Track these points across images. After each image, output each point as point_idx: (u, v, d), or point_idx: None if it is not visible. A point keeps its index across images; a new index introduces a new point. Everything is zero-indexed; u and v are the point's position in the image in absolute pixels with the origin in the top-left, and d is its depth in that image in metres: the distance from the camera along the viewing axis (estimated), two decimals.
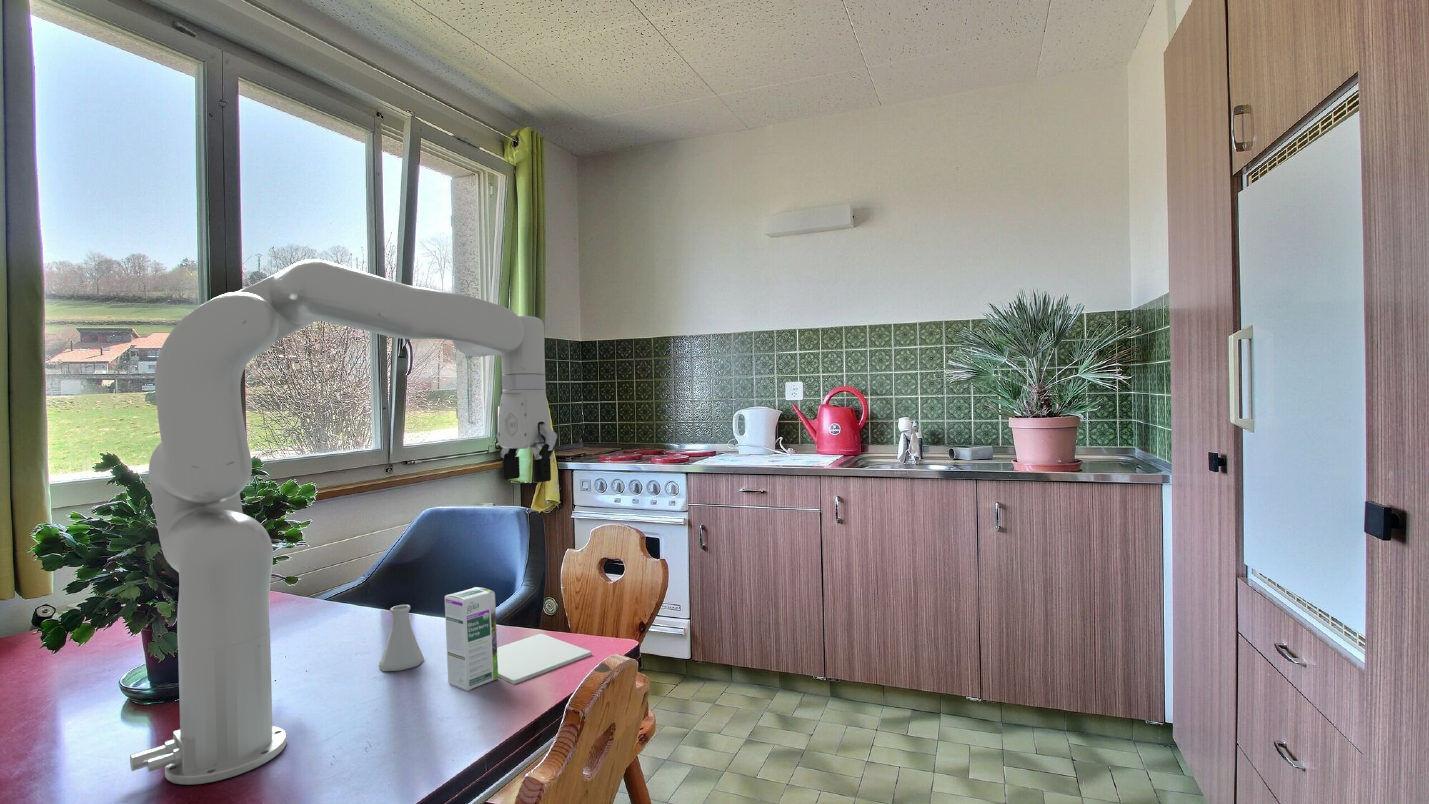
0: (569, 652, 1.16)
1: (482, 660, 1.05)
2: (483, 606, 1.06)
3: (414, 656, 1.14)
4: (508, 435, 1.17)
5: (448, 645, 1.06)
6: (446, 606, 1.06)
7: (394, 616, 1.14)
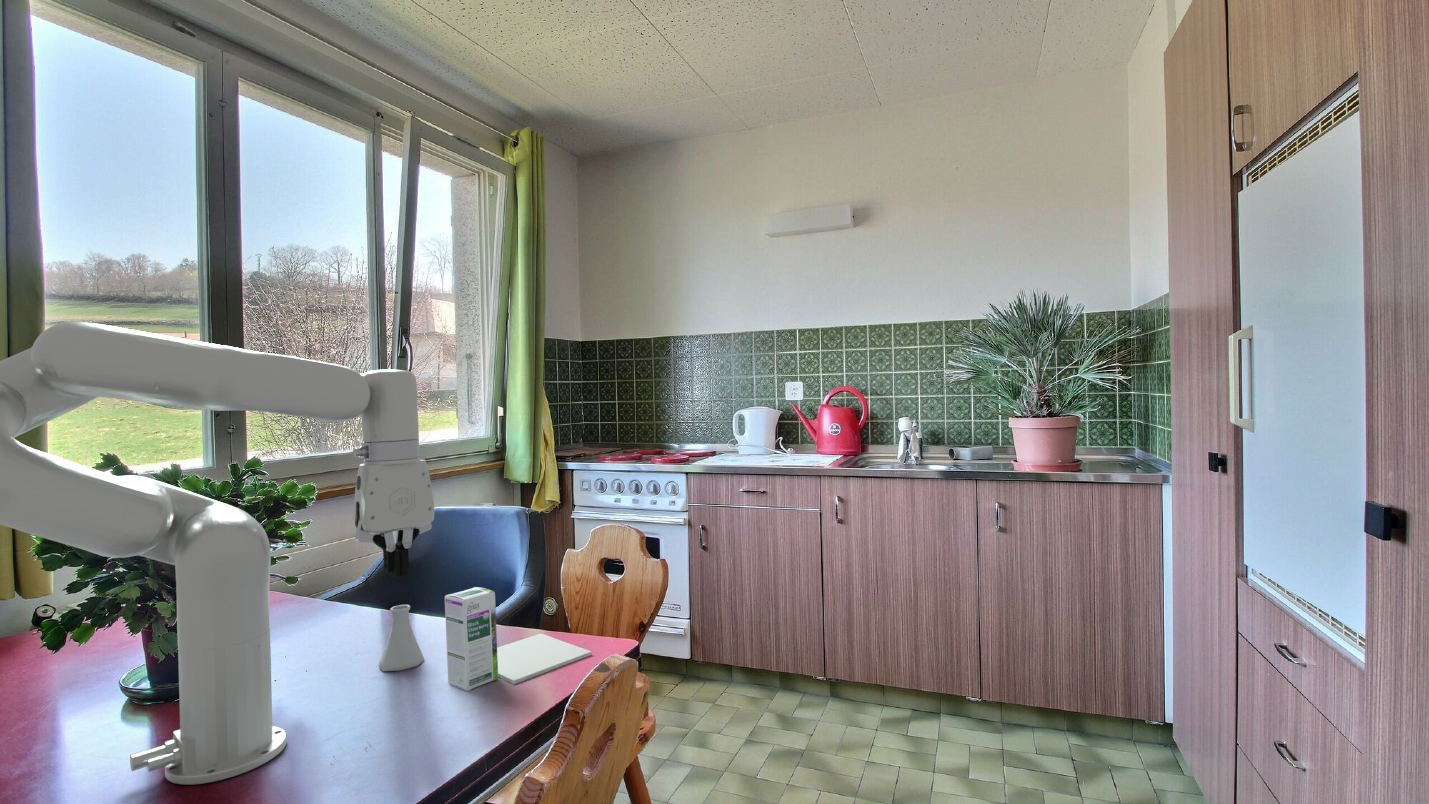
0: (569, 652, 1.16)
1: (482, 660, 1.05)
2: (483, 606, 1.06)
3: (414, 656, 1.14)
4: (395, 515, 0.96)
5: (448, 645, 1.06)
6: (446, 606, 1.06)
7: (394, 616, 1.14)
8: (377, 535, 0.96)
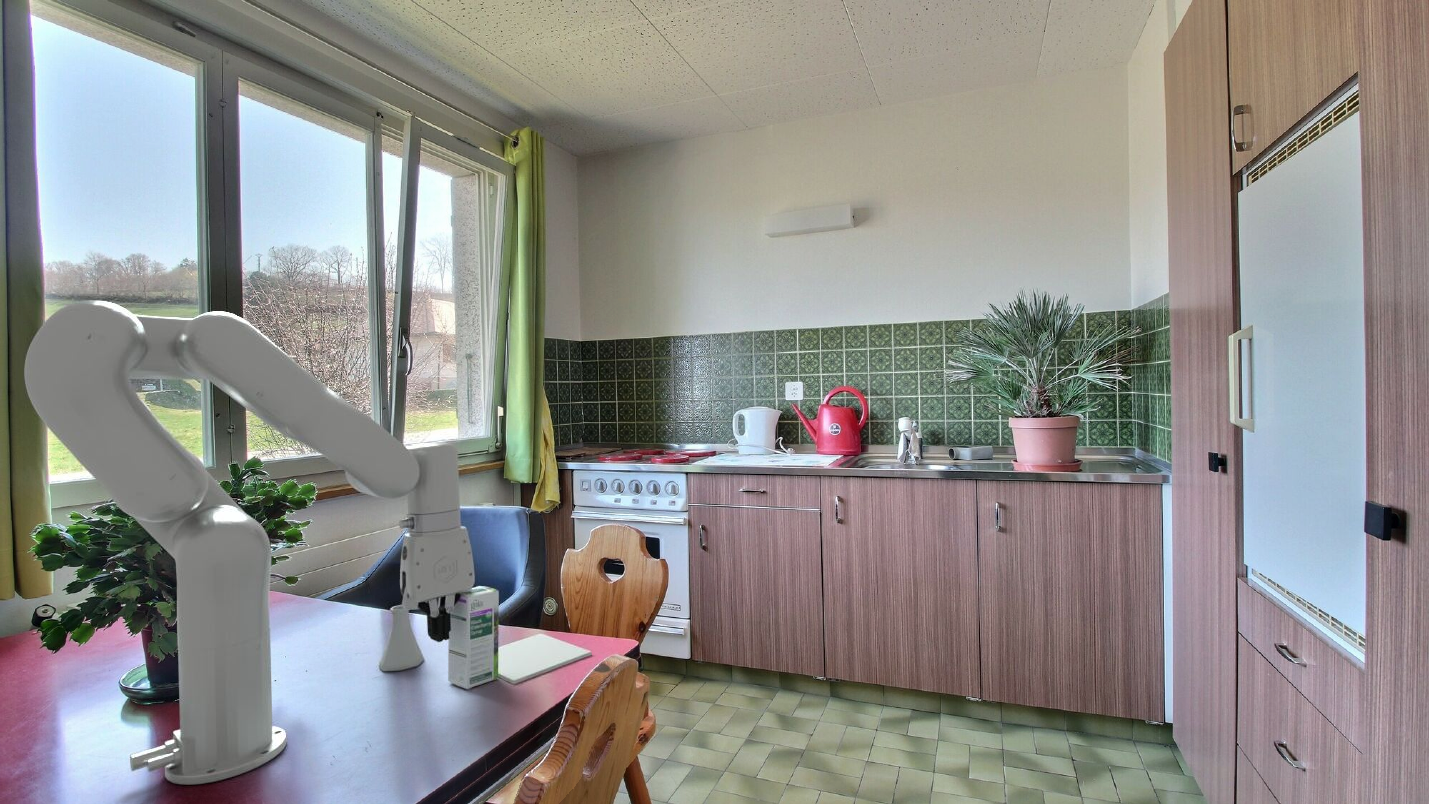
0: (569, 652, 1.16)
1: (483, 659, 1.05)
2: (486, 604, 1.06)
3: (414, 656, 1.14)
4: (439, 583, 1.00)
5: (450, 643, 1.06)
6: None
7: (394, 616, 1.14)
8: (422, 602, 1.00)
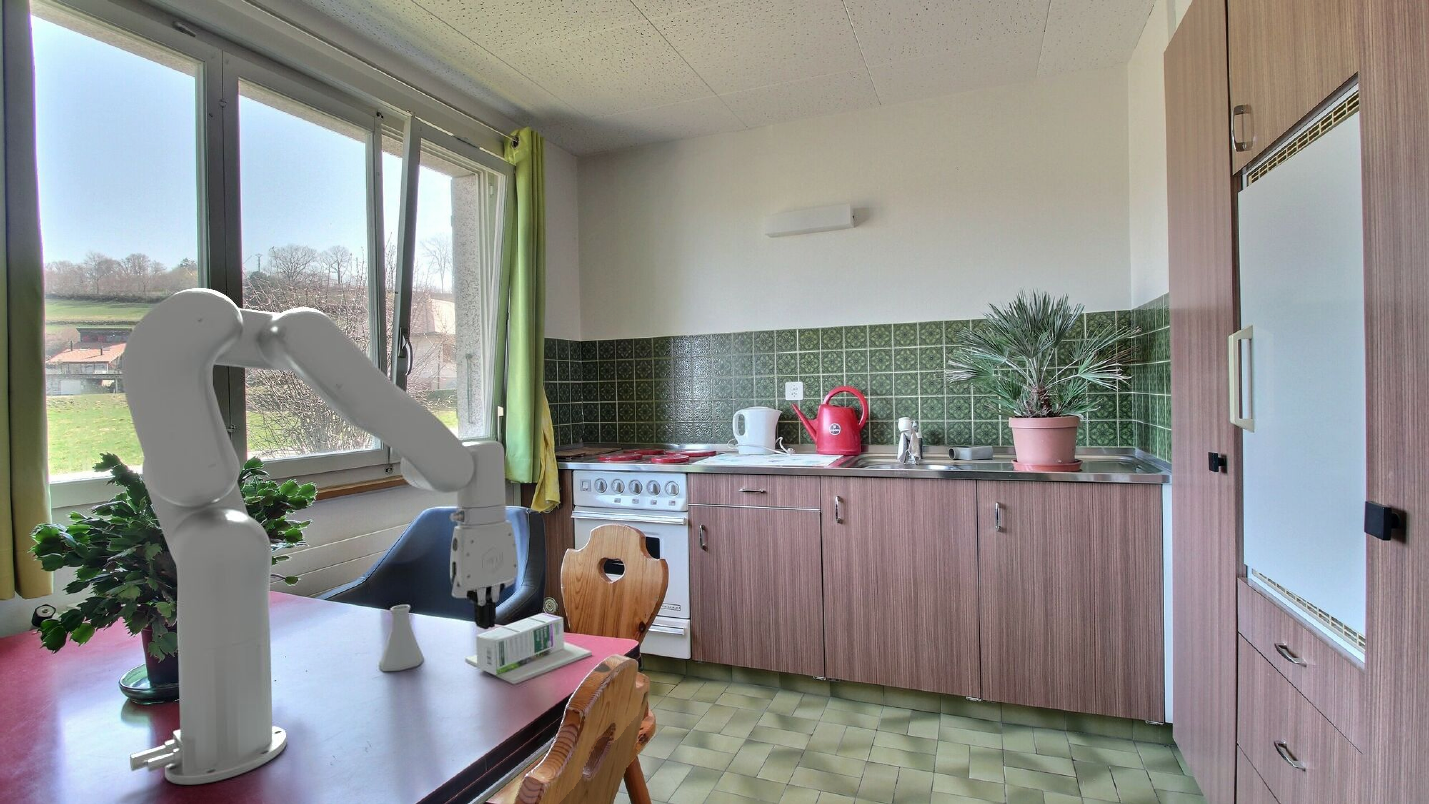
0: (569, 652, 1.16)
1: (516, 650, 1.10)
2: (556, 639, 1.17)
3: (414, 656, 1.14)
4: (487, 573, 1.06)
5: (509, 625, 1.15)
6: (538, 615, 1.20)
7: (394, 616, 1.14)
8: (470, 591, 1.06)
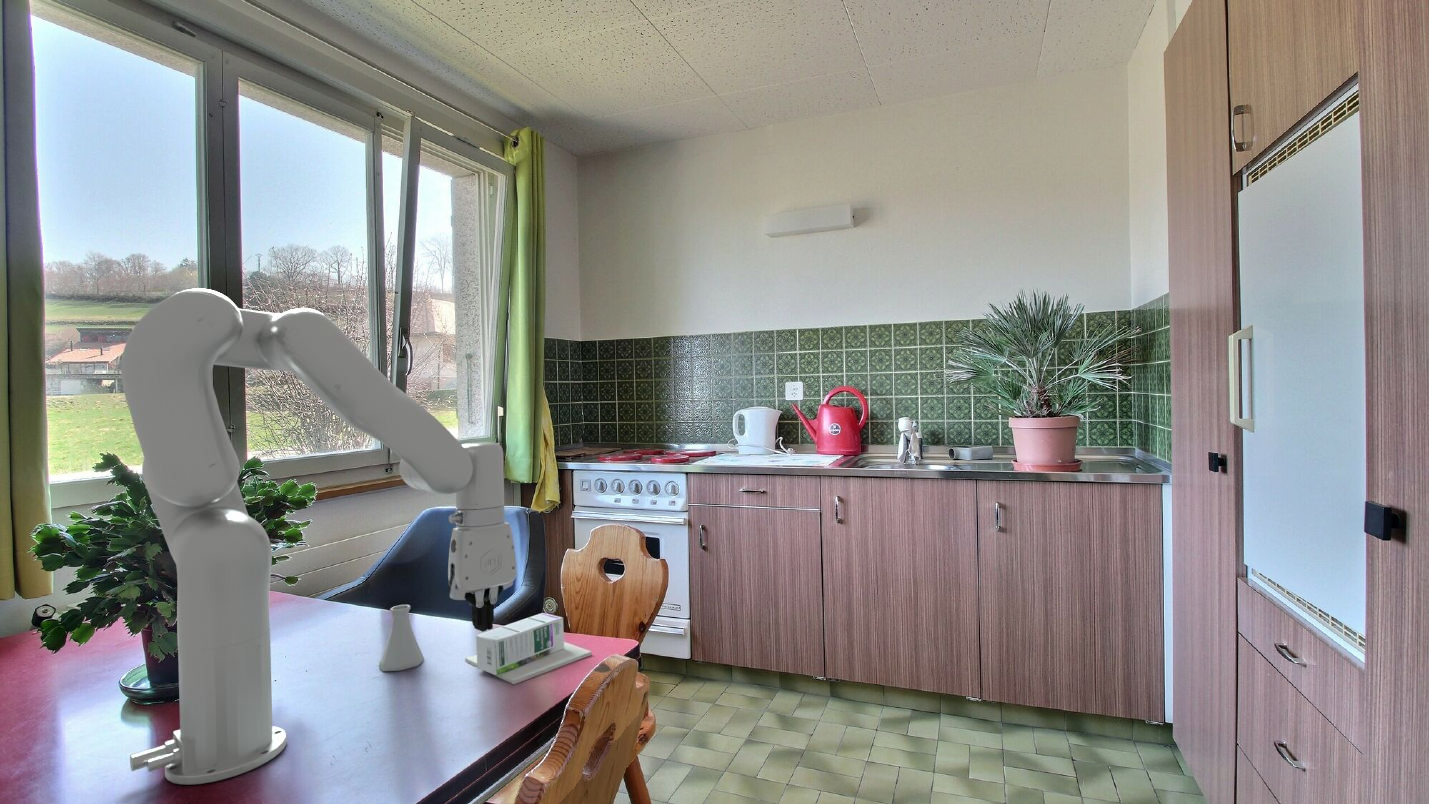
0: (569, 652, 1.16)
1: (516, 650, 1.10)
2: (556, 639, 1.17)
3: (414, 656, 1.14)
4: (485, 575, 1.06)
5: (509, 625, 1.15)
6: (538, 615, 1.20)
7: (394, 616, 1.14)
8: (468, 593, 1.06)
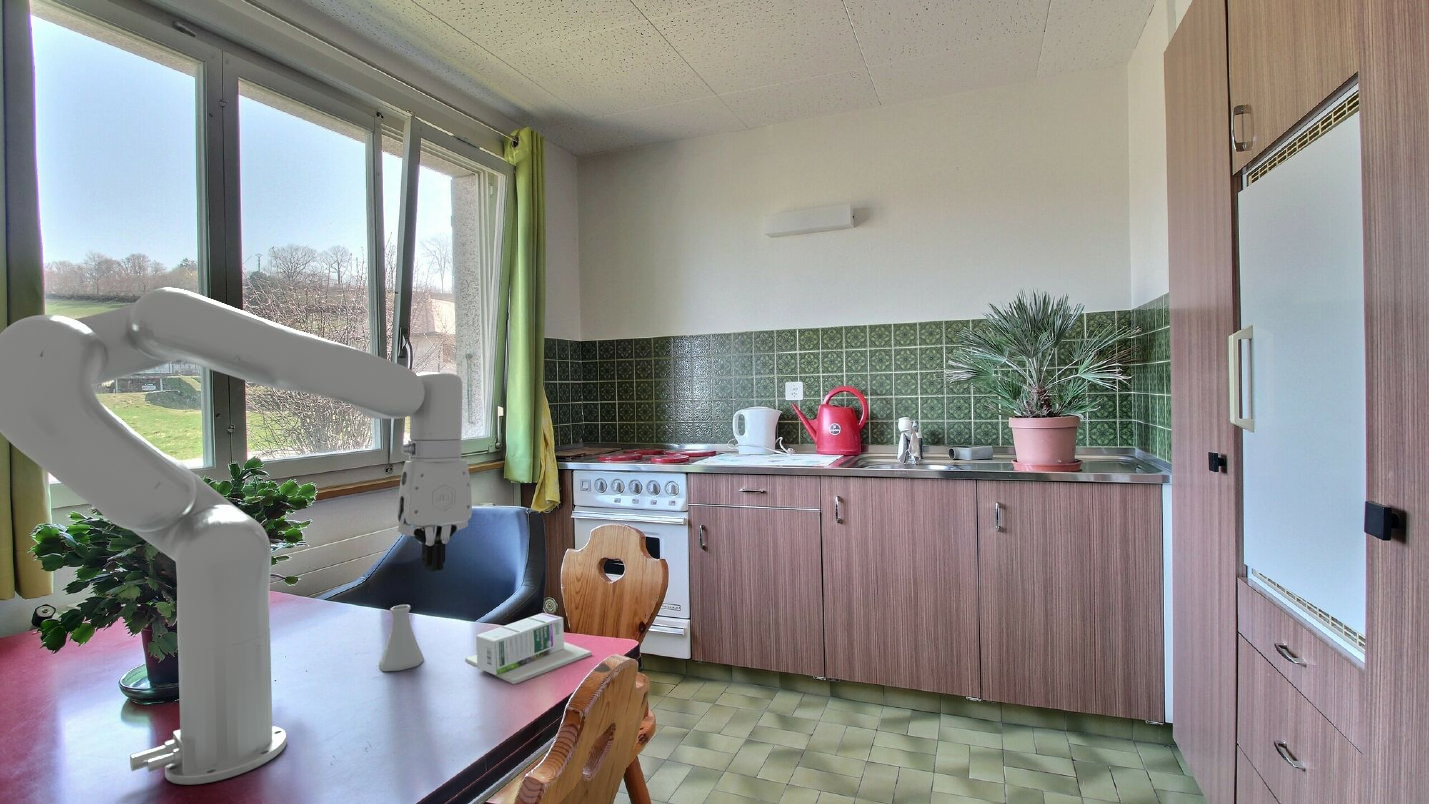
0: (569, 652, 1.16)
1: (516, 650, 1.10)
2: (556, 639, 1.17)
3: (414, 656, 1.14)
4: (437, 510, 1.00)
5: (509, 625, 1.15)
6: (538, 615, 1.20)
7: (394, 616, 1.14)
8: (418, 529, 1.00)
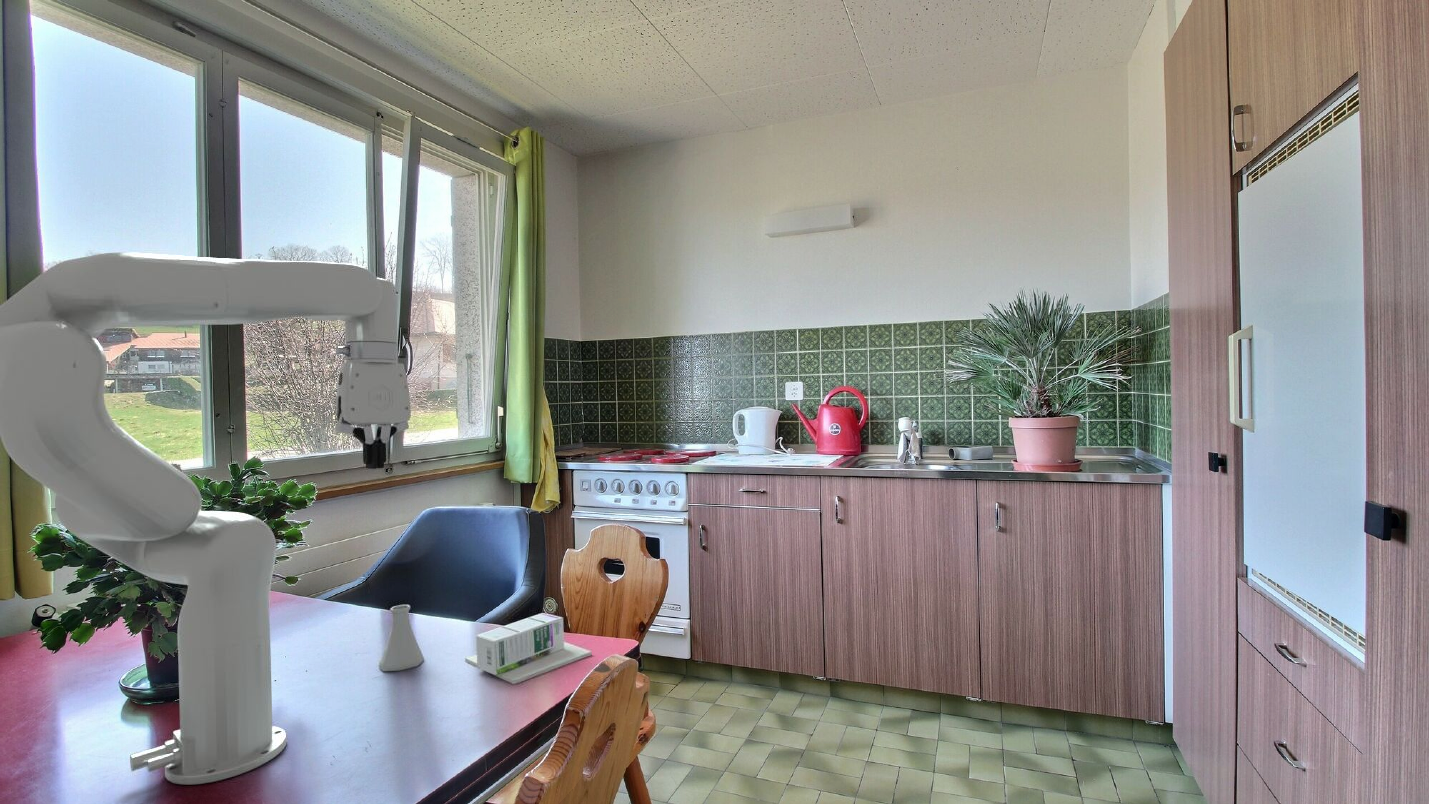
0: (569, 652, 1.16)
1: (516, 650, 1.10)
2: (556, 639, 1.17)
3: (414, 656, 1.14)
4: (374, 409, 1.04)
5: (509, 625, 1.15)
6: (538, 615, 1.20)
7: (394, 616, 1.14)
8: (357, 428, 1.04)
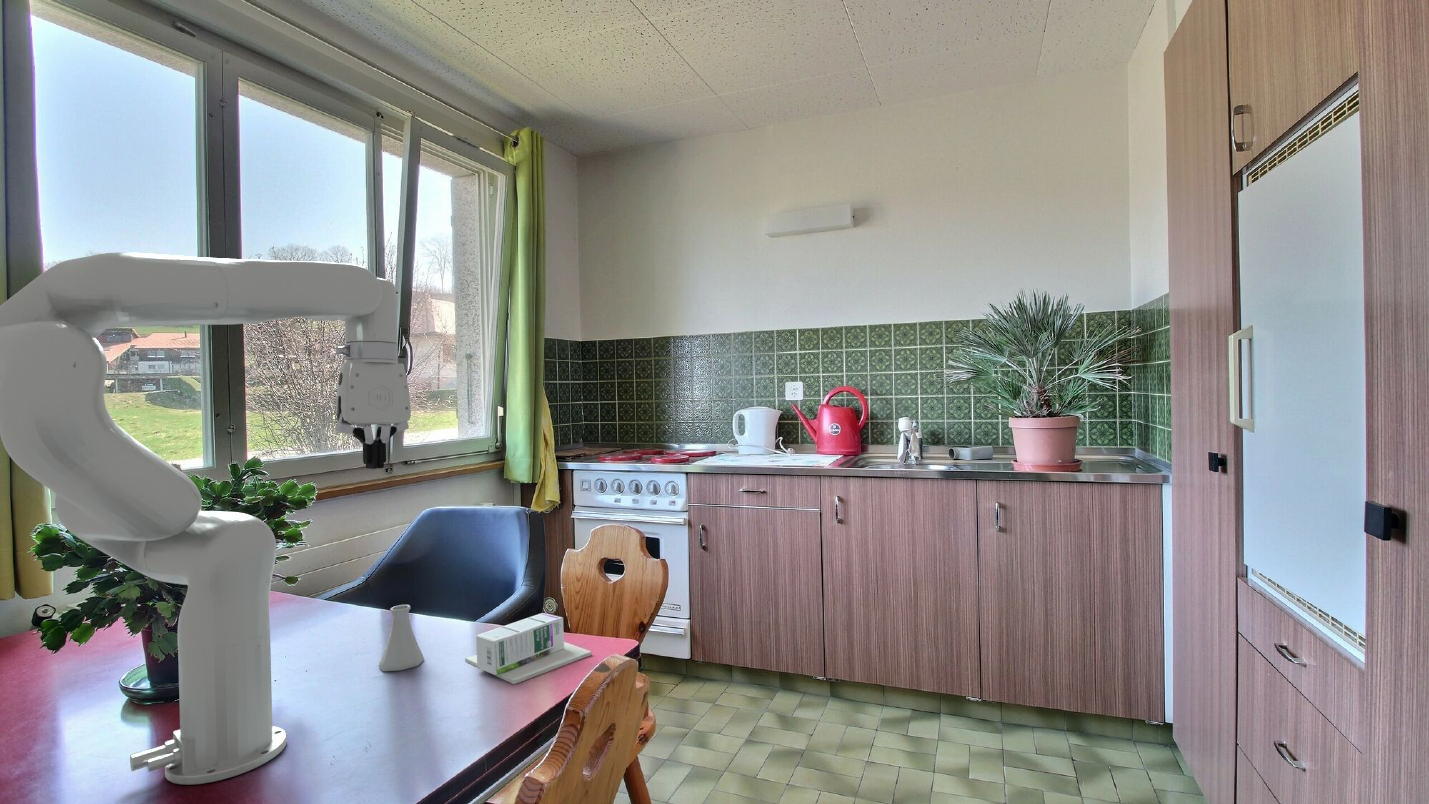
0: (569, 652, 1.16)
1: (516, 650, 1.10)
2: (556, 639, 1.17)
3: (414, 656, 1.14)
4: (374, 409, 1.04)
5: (509, 625, 1.15)
6: (538, 615, 1.20)
7: (394, 616, 1.14)
8: (357, 428, 1.04)
